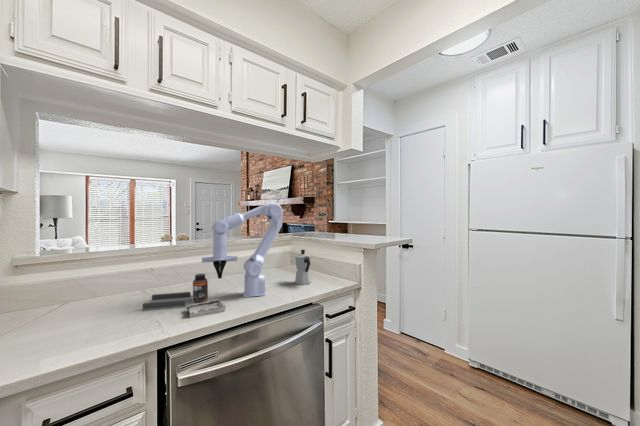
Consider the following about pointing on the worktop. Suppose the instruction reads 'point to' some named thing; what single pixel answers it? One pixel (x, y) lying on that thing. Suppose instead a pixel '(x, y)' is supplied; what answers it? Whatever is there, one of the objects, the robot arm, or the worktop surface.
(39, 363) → the worktop surface
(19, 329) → the worktop surface
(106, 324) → the worktop surface
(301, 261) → the coffee maker
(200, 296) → the supplement bottle
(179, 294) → the mat
